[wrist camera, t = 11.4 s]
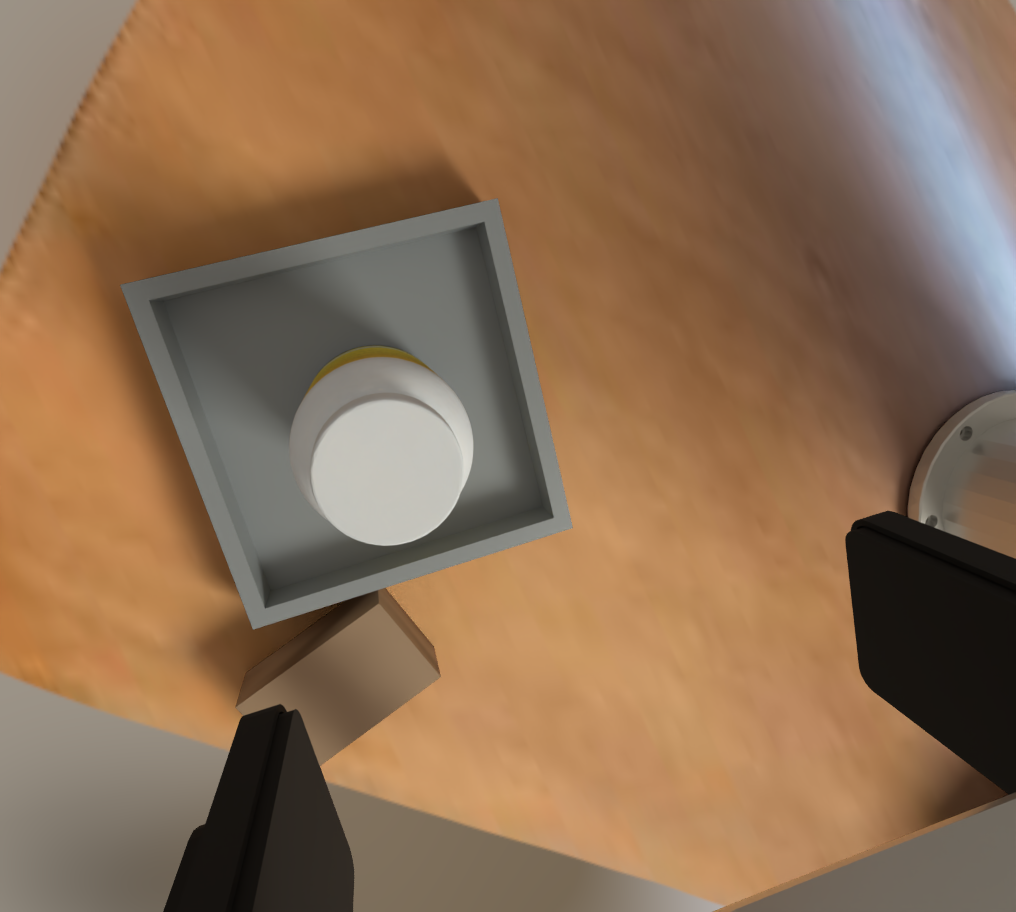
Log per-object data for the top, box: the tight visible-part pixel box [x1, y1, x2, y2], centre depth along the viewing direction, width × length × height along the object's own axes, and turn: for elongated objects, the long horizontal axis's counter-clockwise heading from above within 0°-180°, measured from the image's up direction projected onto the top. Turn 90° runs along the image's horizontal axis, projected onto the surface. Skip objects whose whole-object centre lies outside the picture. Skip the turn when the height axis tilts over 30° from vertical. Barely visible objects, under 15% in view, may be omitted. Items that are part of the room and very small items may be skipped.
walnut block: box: [235, 588, 441, 766], centre depth 32 cm, size 8×5×3 cm, turn 124°
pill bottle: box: [289, 345, 473, 546], centre depth 25 cm, size 6×6×12 cm
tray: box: [120, 198, 573, 630], centre depth 30 cm, size 16×16×3 cm
